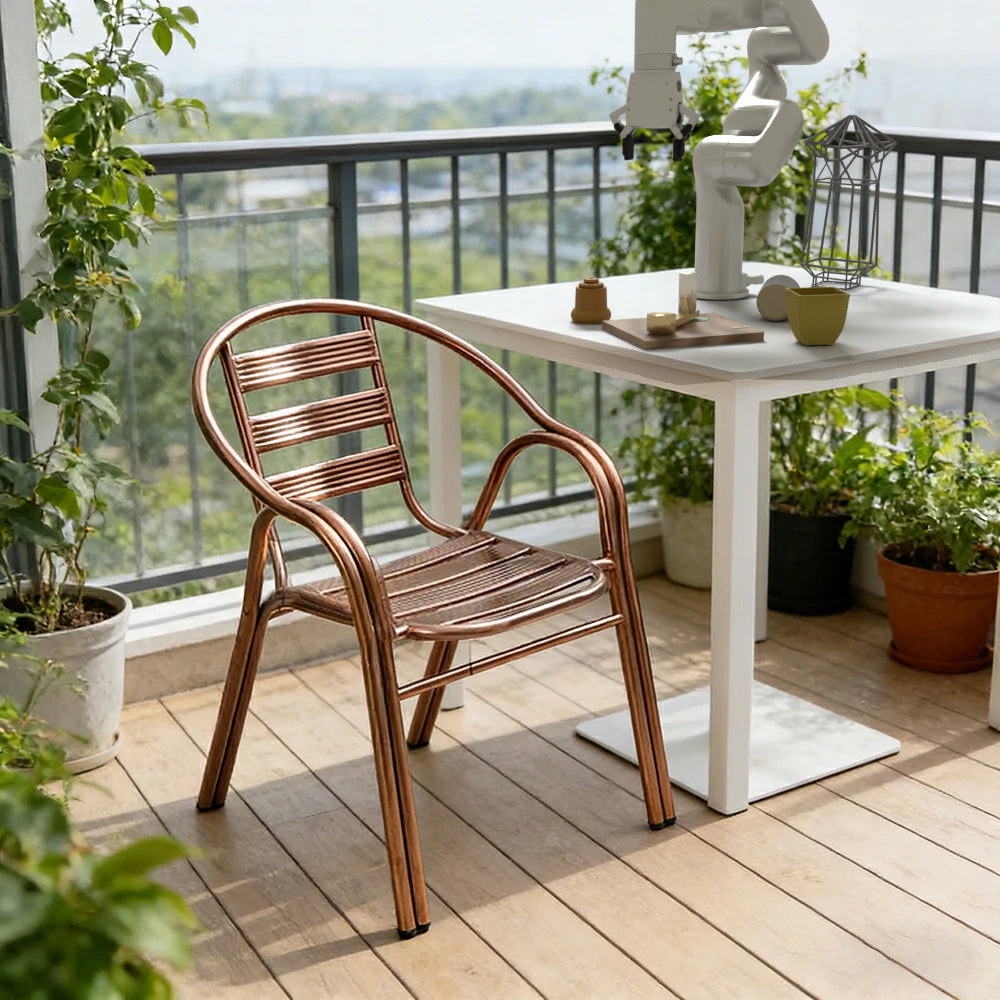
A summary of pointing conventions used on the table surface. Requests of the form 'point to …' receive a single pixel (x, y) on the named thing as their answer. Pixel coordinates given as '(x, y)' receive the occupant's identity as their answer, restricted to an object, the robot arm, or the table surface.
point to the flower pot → (817, 314)
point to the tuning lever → (686, 307)
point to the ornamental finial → (591, 302)
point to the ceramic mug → (775, 297)
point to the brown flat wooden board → (684, 332)
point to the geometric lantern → (836, 132)
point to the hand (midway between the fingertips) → (653, 160)
